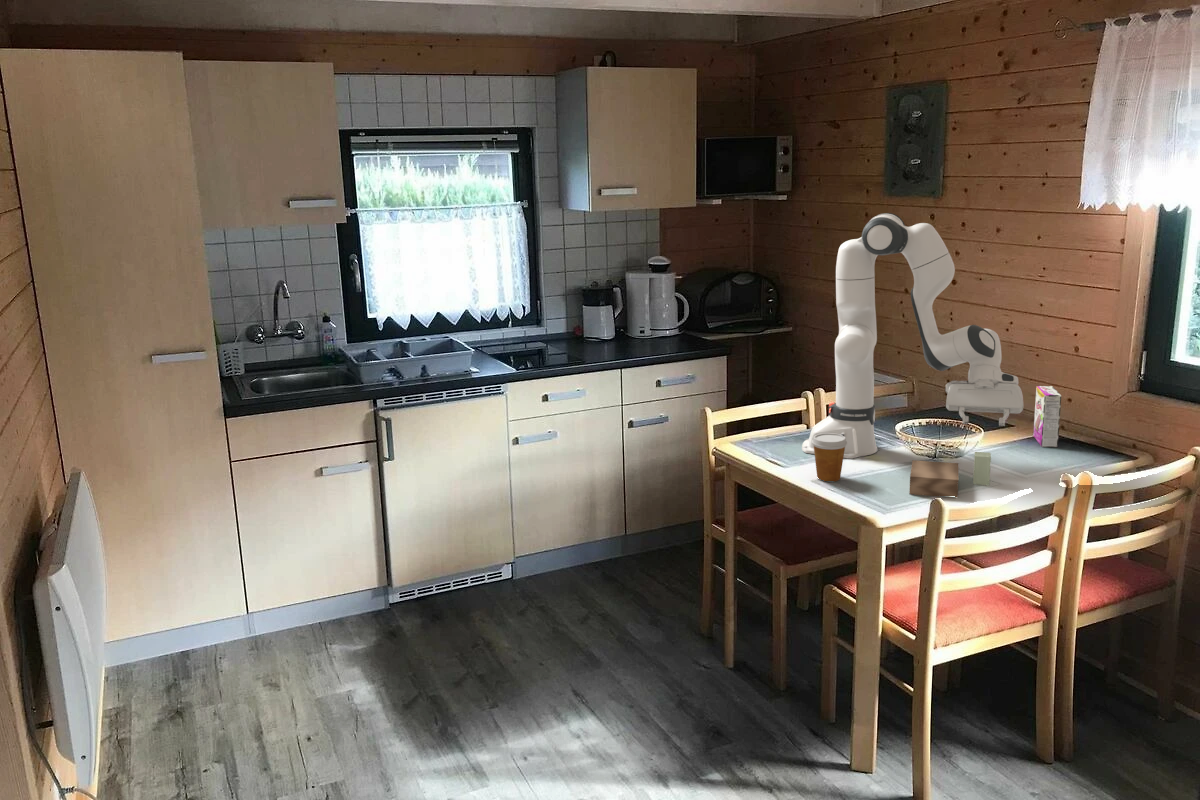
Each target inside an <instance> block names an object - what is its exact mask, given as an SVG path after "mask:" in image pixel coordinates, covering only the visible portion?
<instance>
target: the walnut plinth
mask: <svg viewBox="0 0 1200 800" xmlns="http://www.w3.org/2000/svg"><path fill="white" fill-rule="evenodd" d="M959 469H960V468H959V463H958V462H947V461H945V462H944V461H930V460H914V459H913V460H911V468H910V476H909V491H908V493H909V495H913V494H914V496H915V495H916V496H927V497H939V496H955V497H958V496H959Z"/></svg>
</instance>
